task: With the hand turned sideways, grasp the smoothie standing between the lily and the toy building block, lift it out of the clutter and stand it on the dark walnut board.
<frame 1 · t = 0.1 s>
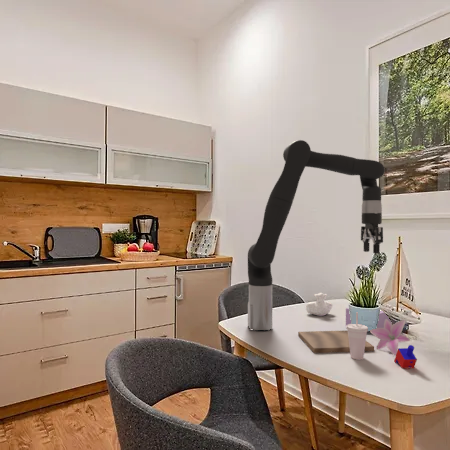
hand: (371, 252, 154), 29 cm above the table, tool pointing down, fingers open, 8 cm apart
smoothie: (356, 358, 119), on the table
lily: (390, 350, 126), on the table
walnut board: (333, 343, 132), on the table
clip: (373, 327, 152), on the table
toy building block: (405, 366, 112), on the table
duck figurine: (319, 315, 171), on the table
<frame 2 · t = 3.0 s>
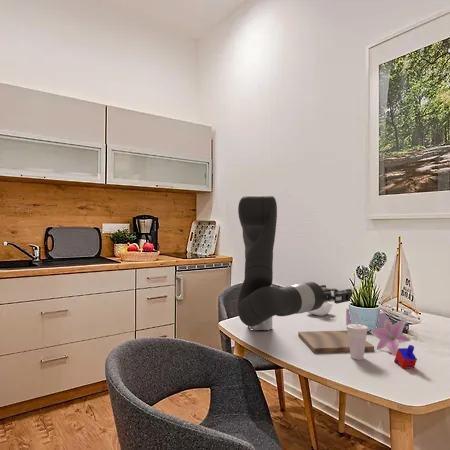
hand: (337, 290, 111), 22 cm above the table, tool horizontal, fingers open, 8 cm apart
nothing on the table moved.
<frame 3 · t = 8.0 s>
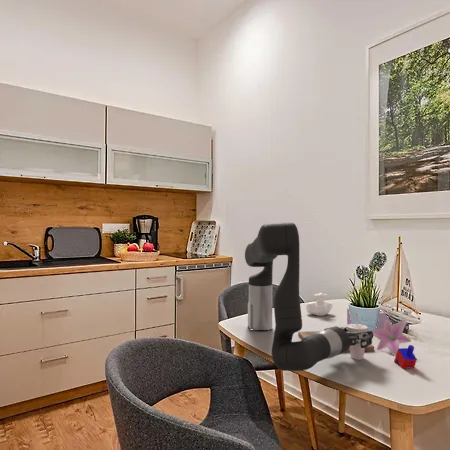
hand: (361, 331, 120), 8 cm above the table, tool horizontal, fingers closed on smoothie, 6 cm apart
smoothie: (357, 358, 119), on the table, touching gripper
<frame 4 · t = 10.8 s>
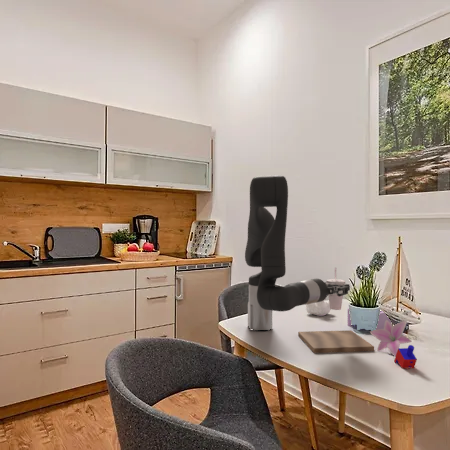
hand: (339, 285, 133), 20 cm above the table, tool horizontal, fingers closed on smoothie, 6 cm apart
smoothie: (335, 309, 131), point 12 cm above the table, touching gripper
when the fingers open (10 cm above the table, at t = 13.7 s): smoothie drops 1 cm, resting on walnut board.
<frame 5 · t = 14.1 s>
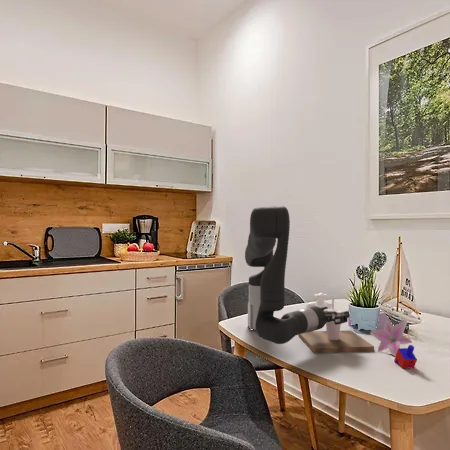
hand: (337, 311, 133), 10 cm above the table, tool horizontal, fingers open, 8 cm apart
smoothie: (333, 339, 132), point 1 cm above the table, touching walnut board
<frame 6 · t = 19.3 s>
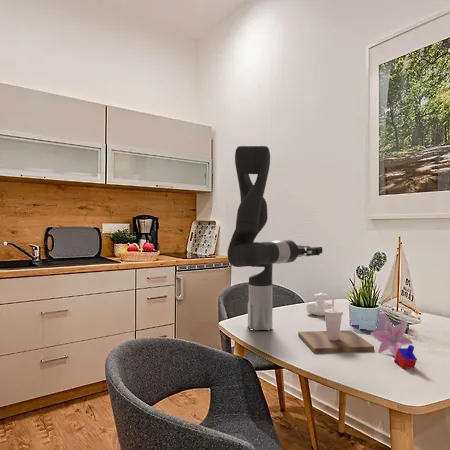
hand: (311, 249, 136), 32 cm above the table, tool horizontal, fingers open, 8 cm apart
at the end: smoothie inside the target area on the walnut board (0.3 cm from its centre), point 1.3 cm above the walnut board's base; smoothie tilted 0°; the gripper is holding nothing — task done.
